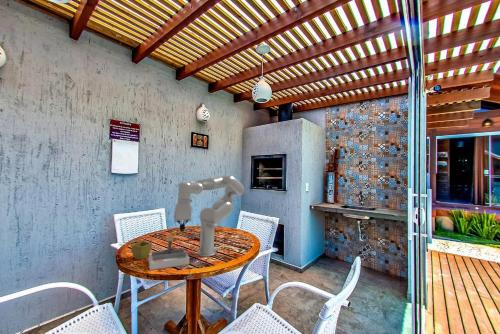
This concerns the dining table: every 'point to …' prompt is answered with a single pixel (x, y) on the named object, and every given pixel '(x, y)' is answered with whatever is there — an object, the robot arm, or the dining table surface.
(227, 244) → the dining table surface
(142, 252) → the flower pot
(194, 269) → the dining table surface
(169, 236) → the breaker lever
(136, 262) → the dining table surface
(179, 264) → the breaker block
